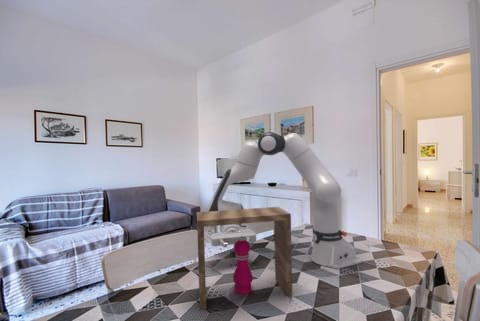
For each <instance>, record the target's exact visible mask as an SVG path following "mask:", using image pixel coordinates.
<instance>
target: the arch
mask: <svg viewBox="0 0 480 321" xmlns="http://www.w3.org/2000/svg"><path fill="white" fill-rule="evenodd" d="M266 222H274V223H273V229H274V230H273V232H274V272H275V273H274V275H275V276H274V277H275V278H274V279H275V281H276V283H277V284H278V286H279V287H280V289H281V290H282V293H284V295H285V296H286V297H288V298H289V297H293V271H292V270H293V264H292V262H293V261H292V259H293V258H292V256H293V255H292V254H293V253H292V216H291V213H290V212H288V211H287V210H285V209H283V208H282V207H280V206H272V207H259V208H258V207H256V208H254V207H253V208H244V209H239V210H224V211H210V212H207V211H198V212H196V225H197V226H196V227H197V228H196V230H197V232H196V233H197V258H198V259H197V263H198V293H199V294H198V295H199V310H204V309H205V310H206V309H207V294H206V293H207V290H206V289H207V287H206V282H207V281H206V258H205V257H206V256H205V253H206V251H205V248H206V247H205V227H216V226H220V225H231V224H241V225H242V224H255V223H266Z"/></svg>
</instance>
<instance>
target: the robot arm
mask: <svg viewBox="0 0 480 321" xmlns="http://www.w3.org/2000/svg"><path fill="white" fill-rule="evenodd" d="M279 153H283V154H284V155H285V156H286V157H287V158H288V160H289V161H290V162H291V164H292V165H293V167H294V168H295V169H296V170H297V172H298V173H299V175H300V176H301V178H302V179H303V180H304V182H305V183H306V184H307V186H308V187H309V188H310V190H311V194H312V195H311V199H312V200H311V201H312V210H313V211H312V212H313V228H312V241H313V242H312V243H313V244H312V250H311V255H310V260H311V261H312V262H313V263H315V264H317V265H321V266H323V267H329V268H333V269H336V270H337V269H339V270H340V269H343V268H347V267H350V266H354V265H358V264H362V263H363V260H362V258H361V257H360V256H359V255H357V252H356V249H355V246H353V245H352V243H351V242H349V241H348V240H346V239H345V237H347V236H348V232H346V231H343V230H340V227H339V226H340V225H339V224H340V223H339V222H340V220H339V216H340V214H339V209H338V200H339V199H340V197H341V195H342V189H341V184H339V182H338V180H337V179H336V178H335V177H334V175H332V173H331V172H330V171H329V169H328V168H327V167H326V166H325V164H323V162H322V161H321V160H320V158H319V157H318V156H317V155H316V153H315V152H314V151H313V150H312V148H311V147H310V145H309V144H308V143H307V142H306V141H305V139H303V137H302V136H300V134H298V133H296V132H290V133H288V134H285V136H282V135H280V134H278V133H276V132H273V131H265V132H263V133H262V134H261V135H260V136H259V138H258V139H257V141H251V140H249V141H245V142H244V143H243V144H242V147H241V148H240V150H239V153H238V155H237V158H236V161H235V164H234V165H233V166H232V167H231V168H229V169H227V170H226V171H225V173H224V175H223V176H222V178H221V180H220V181H219V185H218V187H217V188H216V191H215V192H214V195H213V197H212V198H211V200H210V201H209V204H208V205H207V206H208V207H207V211H206V212H210V211H224V210H239V209H245V208H244V207H243V204H241V203H238V202H234V201H229V200H225V199H223V197H224V196H225V193H226V192H227V189H228V187H229V186H230V185H232V184H235V183H240V182H246V181H250V180H252V179H253V178H255V176H256V174H257V171H258V168H259V164H260V161H261V159H262V158H263V157H264V155H265V156H275V155H278V154H279ZM241 236H243V237H244V240H246V241H248V242H249V244H251V243H256V242H257V233H256V232H255V231H254V230H253V229H251V228H250V226H248V225H242V224H231V225H219V232H215V233H211V235H210V236H209V239H210V243H211V244H210V245H211V247H222V248H224V249H225V248H227V247H228V246H229V245H232V246H233V245H235V243H236V242H237V241H238V240H240V239H239V238H240V237H241Z"/></svg>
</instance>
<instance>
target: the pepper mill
mask: <svg viewBox="0 0 480 321" xmlns="http://www.w3.org/2000/svg"><path fill="white" fill-rule="evenodd" d="M239 239H240V240H238V241H237V242H236V243H235V244H233V245H234V246H233V250H234V252H235V259H236V266H235V267H236V268H235V270H234V273H233V276H232V280H233V283H234V291H235V293H237V294H239V295H247V294H249V293H251V292H252V291H253V290H252V283H253V280H254V279H253V273H252V271H251V269H250V268H251V267H250V266H249V258H250V256H249V255H250V253H249V252H250V251H251V243H249V242H248V241H246V240H244V237H243V236H241V237H240V238H239Z"/></svg>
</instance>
